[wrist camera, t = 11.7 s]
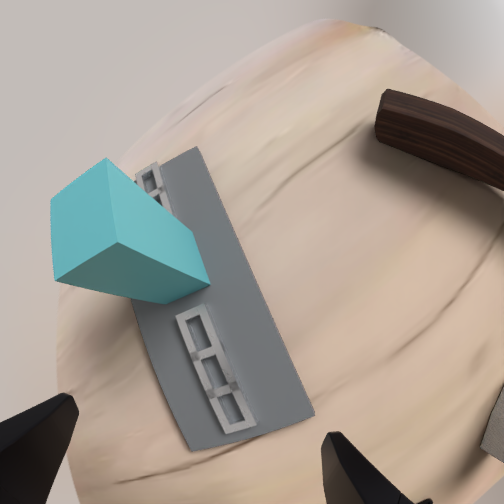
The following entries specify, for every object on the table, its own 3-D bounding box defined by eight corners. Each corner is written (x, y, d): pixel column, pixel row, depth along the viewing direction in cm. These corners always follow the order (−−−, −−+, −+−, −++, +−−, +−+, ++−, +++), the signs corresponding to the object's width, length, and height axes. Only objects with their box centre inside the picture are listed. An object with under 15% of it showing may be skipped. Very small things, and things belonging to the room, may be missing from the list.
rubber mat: (314, 411, 17) (315, 415, 16) (196, 446, 18) (191, 451, 17) (200, 152, 24) (196, 146, 23) (114, 201, 25) (108, 197, 24)
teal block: (210, 284, 20) (117, 242, 9) (165, 304, 20) (54, 280, 10) (192, 231, 21) (106, 157, 11) (150, 252, 21) (50, 199, 11)
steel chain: (258, 421, 17) (256, 425, 16) (228, 430, 17) (225, 434, 16) (160, 165, 24) (156, 161, 23) (139, 178, 24) (134, 174, 23)
